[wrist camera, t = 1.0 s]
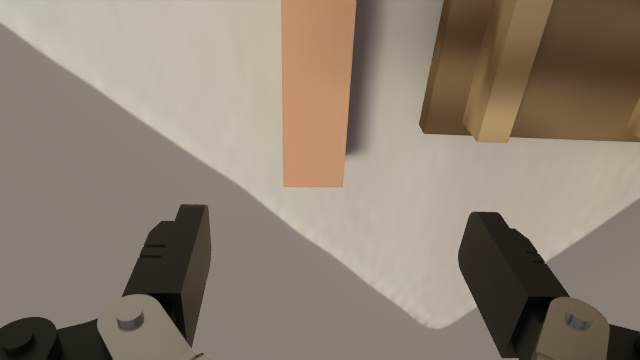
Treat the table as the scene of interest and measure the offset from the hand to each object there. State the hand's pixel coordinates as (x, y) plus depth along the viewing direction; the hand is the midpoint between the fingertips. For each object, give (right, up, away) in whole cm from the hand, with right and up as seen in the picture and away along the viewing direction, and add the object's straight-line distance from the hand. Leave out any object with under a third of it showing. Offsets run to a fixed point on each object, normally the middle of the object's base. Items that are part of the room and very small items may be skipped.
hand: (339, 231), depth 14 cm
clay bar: (-1, +10, +16) cm, 19 cm away
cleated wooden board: (+17, +10, +16) cm, 26 cm away
